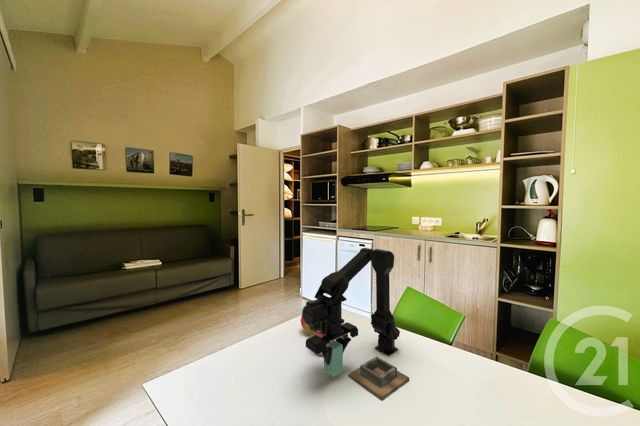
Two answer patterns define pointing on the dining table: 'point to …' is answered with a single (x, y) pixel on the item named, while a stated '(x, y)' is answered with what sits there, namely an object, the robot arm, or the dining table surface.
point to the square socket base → (379, 377)
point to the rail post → (335, 359)
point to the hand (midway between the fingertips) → (333, 361)
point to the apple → (306, 326)
